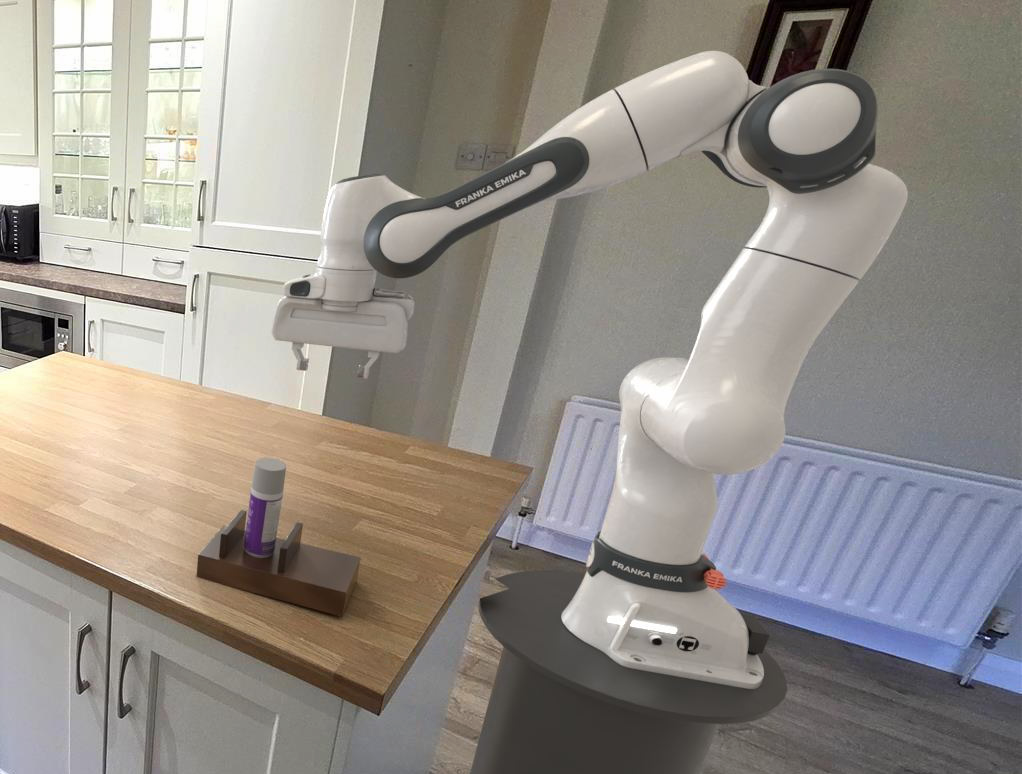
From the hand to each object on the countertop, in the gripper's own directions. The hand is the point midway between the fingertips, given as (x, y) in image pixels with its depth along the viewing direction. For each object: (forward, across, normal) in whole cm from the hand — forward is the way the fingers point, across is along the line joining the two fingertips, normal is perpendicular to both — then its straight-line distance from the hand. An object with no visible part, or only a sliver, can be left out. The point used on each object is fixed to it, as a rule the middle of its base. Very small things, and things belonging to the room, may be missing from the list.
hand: (331, 373), depth 119 cm
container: (+25, +4, +18) cm, 31 cm away
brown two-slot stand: (+29, +1, +18) cm, 34 cm away
